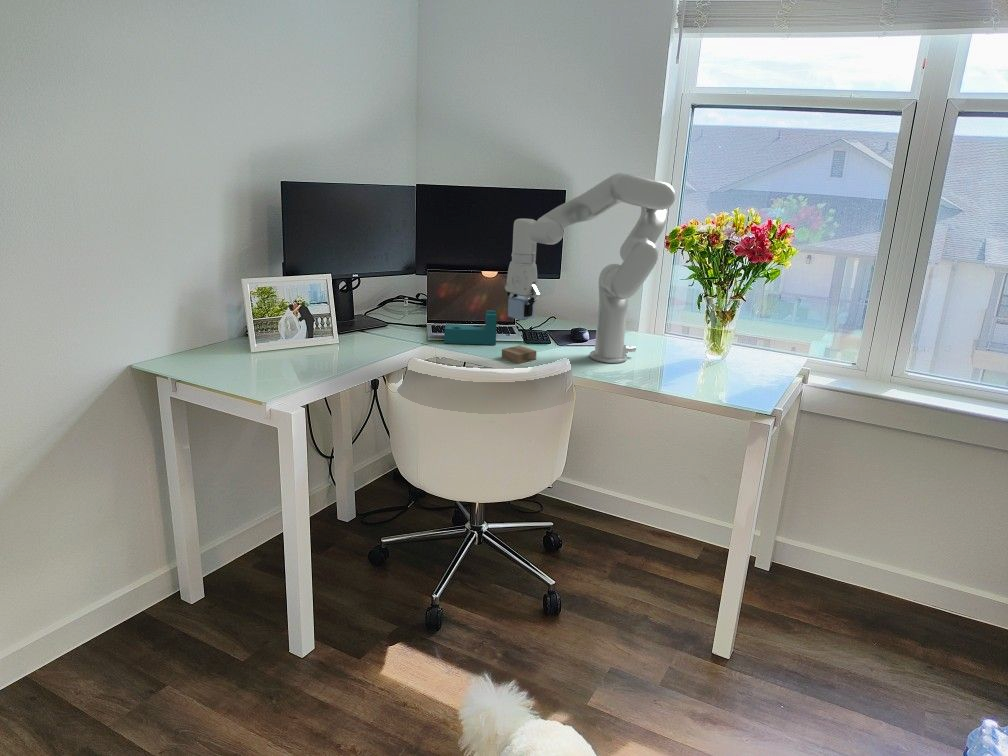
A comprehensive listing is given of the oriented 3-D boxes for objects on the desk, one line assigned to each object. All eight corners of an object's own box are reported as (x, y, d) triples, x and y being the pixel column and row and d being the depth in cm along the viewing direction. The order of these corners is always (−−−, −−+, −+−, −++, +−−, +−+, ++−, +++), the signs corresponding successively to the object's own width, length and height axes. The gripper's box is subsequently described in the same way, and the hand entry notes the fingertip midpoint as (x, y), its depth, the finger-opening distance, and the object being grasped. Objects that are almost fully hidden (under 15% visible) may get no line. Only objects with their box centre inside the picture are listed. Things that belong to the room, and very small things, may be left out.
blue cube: (521, 313, 241) (521, 296, 239) (533, 317, 237) (534, 299, 235) (507, 316, 237) (508, 298, 236) (520, 320, 233) (521, 301, 231)
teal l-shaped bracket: (495, 339, 266) (496, 310, 264) (495, 344, 256) (496, 315, 253) (445, 337, 265) (446, 309, 263) (444, 343, 255) (444, 313, 253)
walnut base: (519, 353, 247) (519, 345, 246) (535, 359, 242) (536, 350, 241) (501, 357, 242) (502, 349, 241) (518, 363, 236) (518, 354, 236)
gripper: (496, 255, 235) (494, 310, 241) (534, 263, 223) (531, 321, 229) (513, 253, 240) (511, 307, 245) (551, 261, 228) (547, 318, 234)
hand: (520, 313), depth 237 cm, fingers closed on blue cube, 6 cm apart
